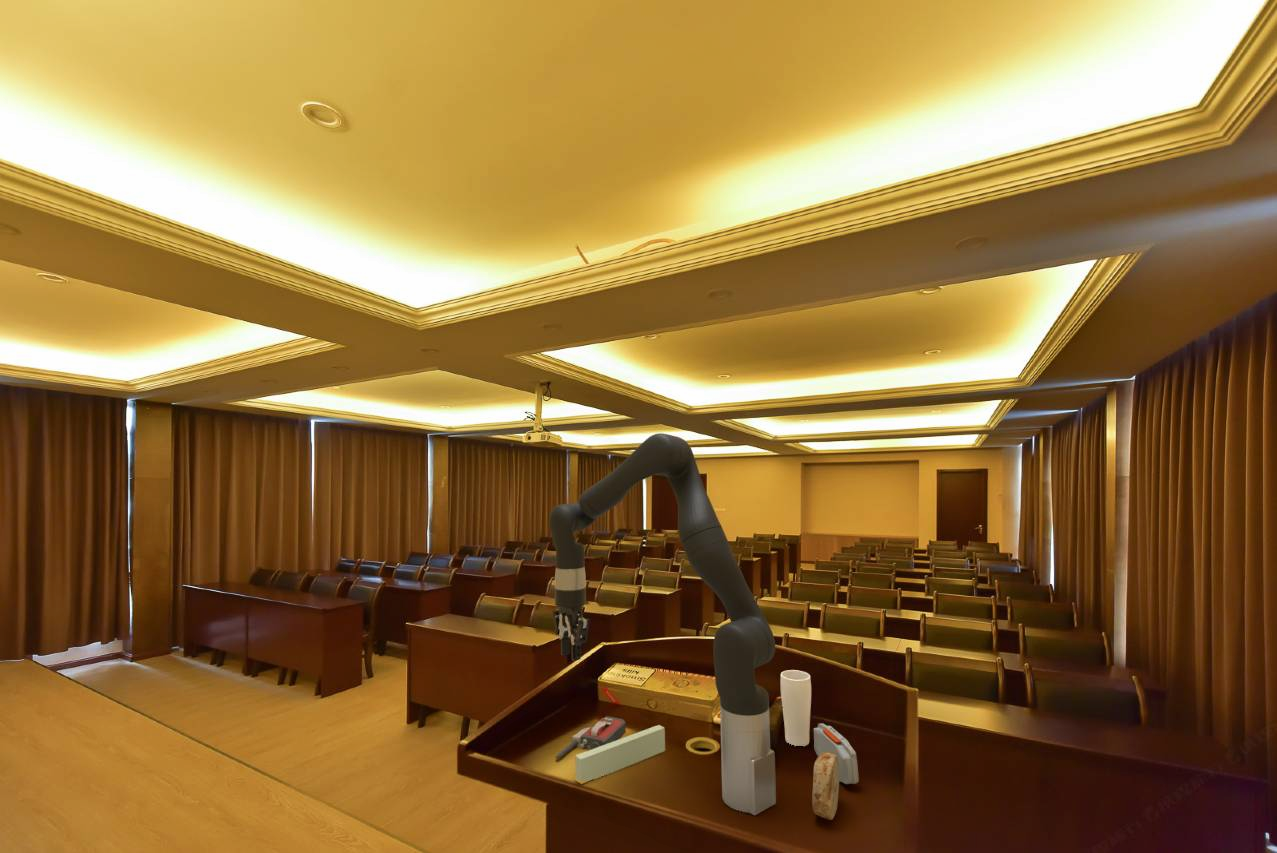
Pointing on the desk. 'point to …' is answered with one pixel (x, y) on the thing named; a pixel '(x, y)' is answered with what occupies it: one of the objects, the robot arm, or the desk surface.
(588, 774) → the bar
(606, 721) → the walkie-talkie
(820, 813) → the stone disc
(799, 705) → the drinking glass
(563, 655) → the robot arm
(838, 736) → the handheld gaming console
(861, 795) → the desk surface
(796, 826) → the desk surface
